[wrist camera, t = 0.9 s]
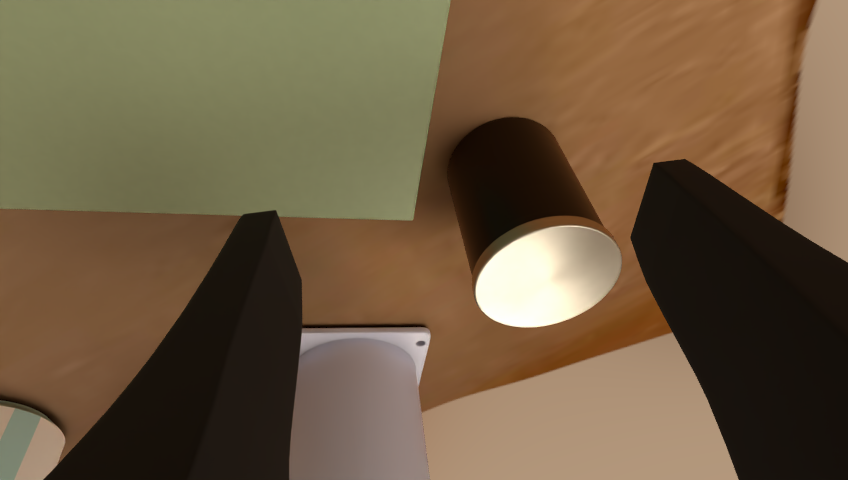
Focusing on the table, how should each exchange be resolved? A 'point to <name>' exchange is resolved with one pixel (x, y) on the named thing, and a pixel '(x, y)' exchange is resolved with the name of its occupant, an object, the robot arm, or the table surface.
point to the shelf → (218, 105)
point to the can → (27, 443)
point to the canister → (528, 226)
